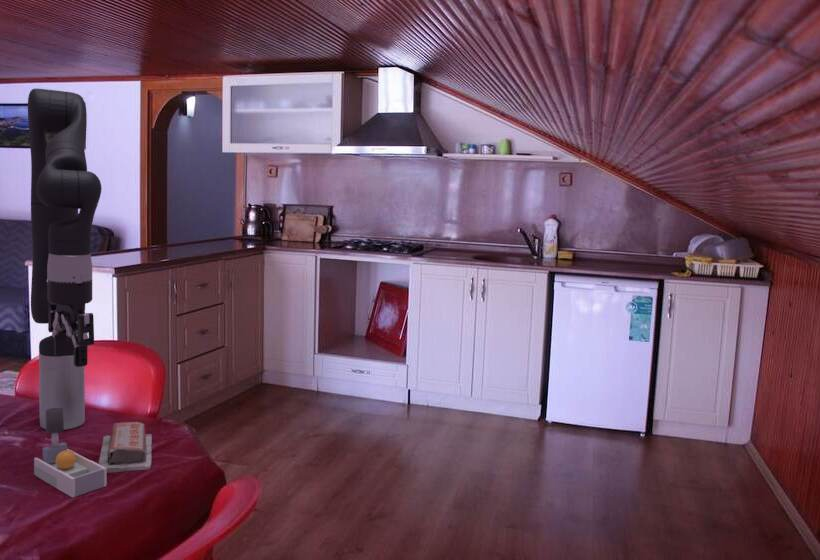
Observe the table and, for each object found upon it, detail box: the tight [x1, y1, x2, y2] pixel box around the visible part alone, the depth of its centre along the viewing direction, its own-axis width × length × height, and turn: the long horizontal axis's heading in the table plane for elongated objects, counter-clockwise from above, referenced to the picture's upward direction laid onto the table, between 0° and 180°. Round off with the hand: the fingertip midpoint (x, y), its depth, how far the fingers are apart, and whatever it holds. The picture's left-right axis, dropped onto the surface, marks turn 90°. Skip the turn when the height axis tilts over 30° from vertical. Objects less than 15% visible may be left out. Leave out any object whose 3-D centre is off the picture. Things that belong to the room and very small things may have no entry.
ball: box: [55, 449, 76, 469], centre depth 126 cm, size 4×4×4 cm
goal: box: [56, 459, 108, 499], centre depth 123 cm, size 6×6×4 cm
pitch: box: [33, 448, 90, 489], centre depth 127 cm, size 8×6×3 cm
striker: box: [42, 408, 68, 464], centre depth 128 cm, size 3×4×10 cm
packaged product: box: [97, 421, 153, 474], centre depth 139 cm, size 18×5×10 cm
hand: (70, 360), depth 126 cm, fingers open, 8 cm apart
